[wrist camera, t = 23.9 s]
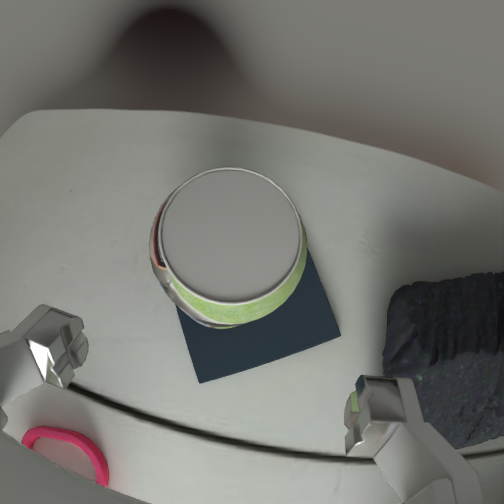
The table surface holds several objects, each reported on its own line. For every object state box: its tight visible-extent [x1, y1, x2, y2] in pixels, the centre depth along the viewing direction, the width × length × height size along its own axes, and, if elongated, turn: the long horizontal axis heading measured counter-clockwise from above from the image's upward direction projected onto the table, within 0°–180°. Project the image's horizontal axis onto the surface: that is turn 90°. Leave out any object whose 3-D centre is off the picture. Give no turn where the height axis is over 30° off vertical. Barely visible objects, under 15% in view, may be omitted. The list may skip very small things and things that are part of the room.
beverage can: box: [149, 167, 307, 329], centre depth 16 cm, size 6×7×12 cm
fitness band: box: [22, 426, 109, 487], centre depth 17 cm, size 8×6×2 cm
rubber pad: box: [175, 248, 341, 383], centre depth 22 cm, size 10×10×1 cm
